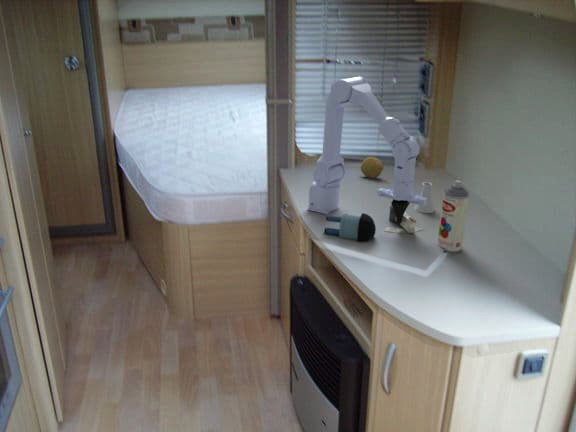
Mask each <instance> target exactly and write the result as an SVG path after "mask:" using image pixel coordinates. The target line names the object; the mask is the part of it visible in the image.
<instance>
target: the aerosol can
mask: <svg viewBox="0 0 576 432" xmlns="http://www.w3.org/2000/svg"><path fill="white" fill-rule="evenodd" d="M469 201H470V192H469V191H468V190H467V189H466V188H465V187H464V186H463V185H462V181H461V180H458V179H457V180H454V183H453V184H452V185H450V186H449V187H448V188H445V189H444V191H443V194H442V201H441V209H440V210H441V211H440V218H439V227H438V237H437V246H439V247H440V248H442V249H444V250H443V253H446V254H452V255H453V254H459V253H460V252H462V250H463V244H464V235H465V230H466V221H467V215H468V214H467V213H468V209H469V208H468V207H469Z"/></svg>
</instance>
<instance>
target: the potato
mask: <svg viewBox="0 0 576 432" xmlns="http://www.w3.org/2000/svg"><path fill="white" fill-rule="evenodd" d="M383 170H384V165H383V162H382V161H381V160H380V159H378V158H376V157H374V156H373V157H372V156H368V157H365V159H363V161H362V162H361V165H360V172H361V173H362V174H363V175H364V176H365V177H367V178H370V179H376V178H378V177H379V176H381V174H382V172H383Z"/></svg>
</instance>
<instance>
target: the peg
mask: <svg viewBox="0 0 576 432" xmlns="http://www.w3.org/2000/svg"><path fill="white" fill-rule="evenodd" d="M388 217H389V218H388V220H389V222H392V223H396V214H395V211H394V209H393V207H392V205H390V206H389V216H388ZM416 222H417V221H416V219H415V218H413V217H412V216H410V214H408V213H407V212H406V211H405V212H404V215H403V219H402V223H400V224H399V225H400V226H401V227H402V229H405V230H407V231H408V232H409V233H408V234H412V233H411V232H416V231H415V226H417V225H416V224H417V223H416Z"/></svg>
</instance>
